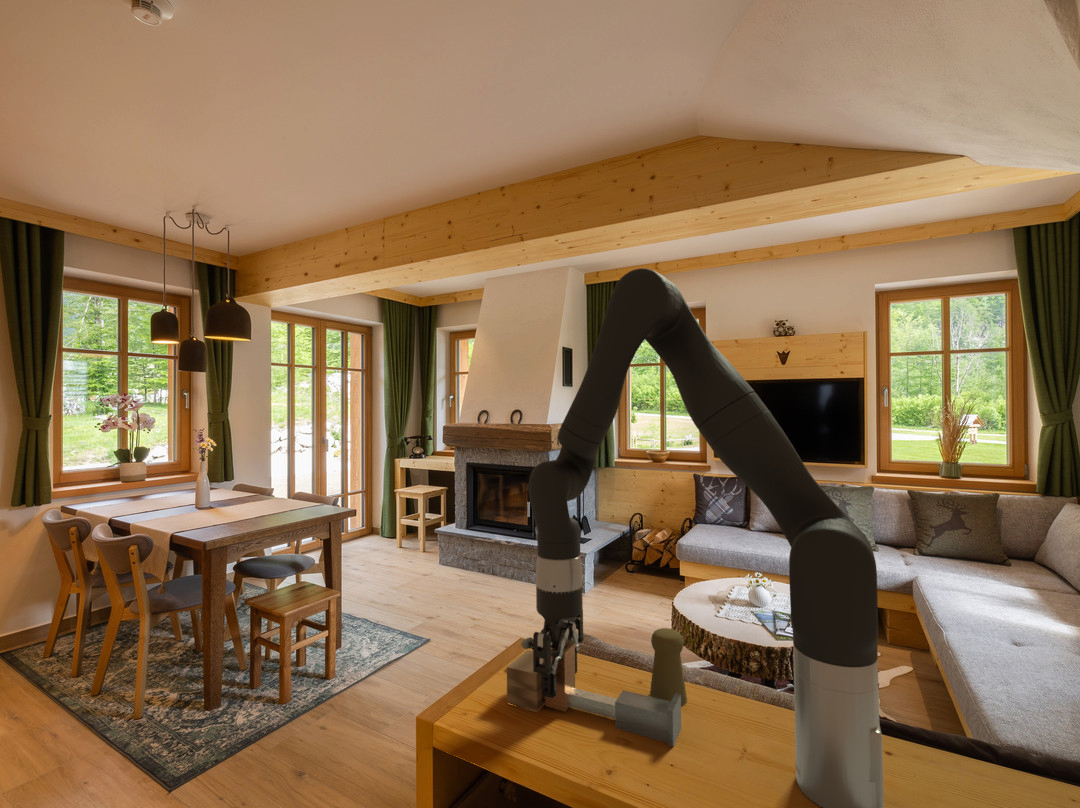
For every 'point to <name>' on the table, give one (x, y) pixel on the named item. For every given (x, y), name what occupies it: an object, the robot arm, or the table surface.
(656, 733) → the sleeve
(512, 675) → the socket block
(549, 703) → the bar
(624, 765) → the table surface
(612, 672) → the table surface
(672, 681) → the olive green pawn
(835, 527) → the robot arm
